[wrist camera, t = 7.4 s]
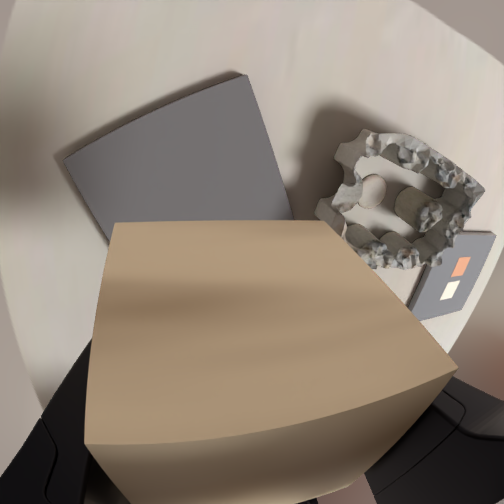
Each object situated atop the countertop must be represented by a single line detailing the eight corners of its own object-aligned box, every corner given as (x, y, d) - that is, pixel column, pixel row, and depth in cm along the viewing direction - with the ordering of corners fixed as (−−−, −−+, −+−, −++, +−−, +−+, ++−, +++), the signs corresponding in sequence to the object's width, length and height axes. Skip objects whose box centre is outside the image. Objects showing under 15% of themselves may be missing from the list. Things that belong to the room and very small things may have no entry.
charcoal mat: (150, 295, 18) (150, 301, 17) (66, 157, 13) (62, 160, 12) (295, 231, 18) (298, 236, 18) (243, 74, 13) (247, 74, 12)
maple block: (287, 356, 10) (349, 485, 6) (136, 370, 9) (151, 525, 5) (323, 220, 8) (459, 367, 4) (115, 222, 7) (84, 443, 2)
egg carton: (297, 229, 18) (328, 268, 15) (347, 107, 15) (395, 121, 12) (412, 256, 23) (445, 287, 19) (454, 169, 19) (495, 192, 16)
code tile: (457, 306, 29) (461, 310, 28) (401, 320, 26) (405, 324, 26) (492, 232, 24) (496, 235, 24) (440, 231, 22) (445, 234, 21)
